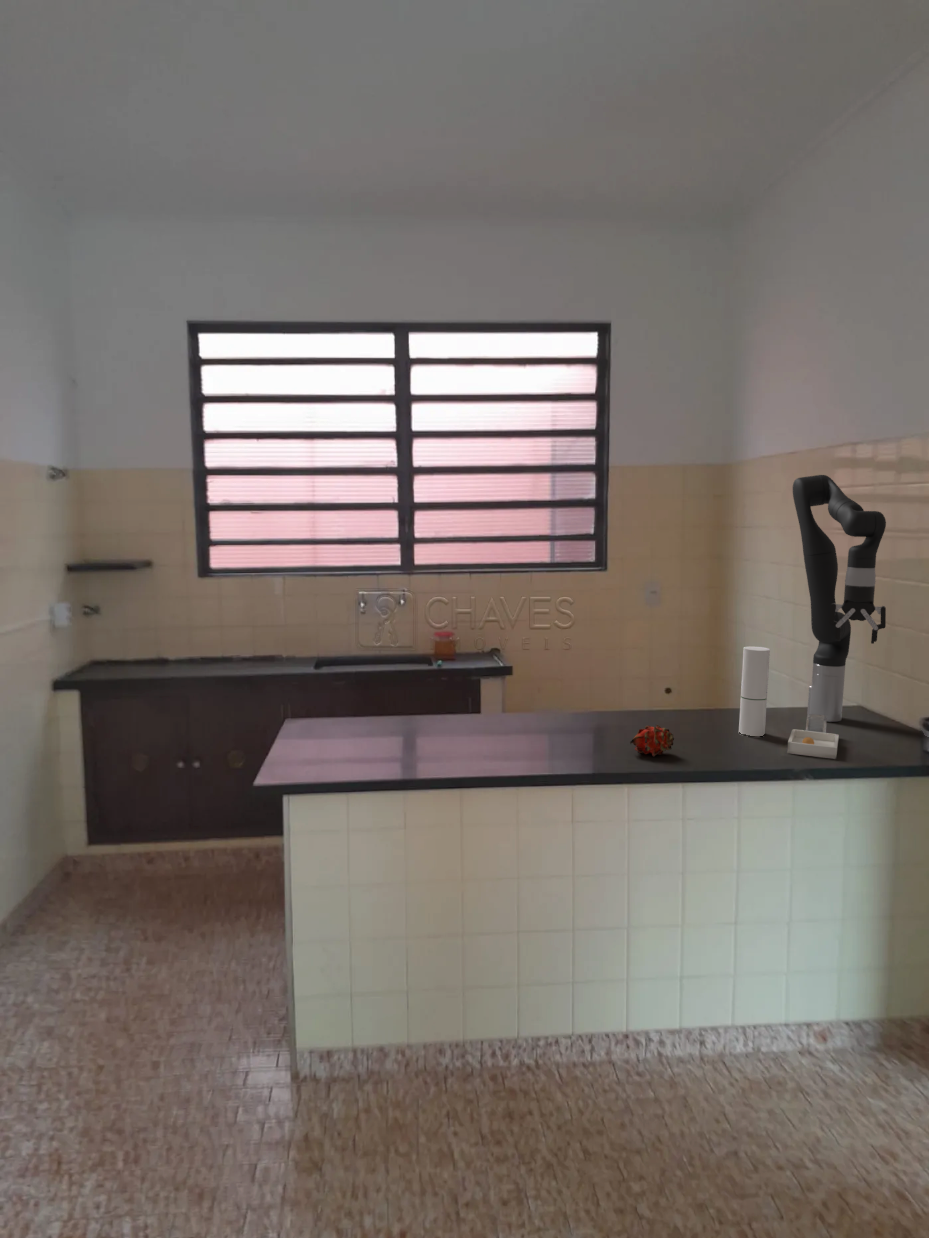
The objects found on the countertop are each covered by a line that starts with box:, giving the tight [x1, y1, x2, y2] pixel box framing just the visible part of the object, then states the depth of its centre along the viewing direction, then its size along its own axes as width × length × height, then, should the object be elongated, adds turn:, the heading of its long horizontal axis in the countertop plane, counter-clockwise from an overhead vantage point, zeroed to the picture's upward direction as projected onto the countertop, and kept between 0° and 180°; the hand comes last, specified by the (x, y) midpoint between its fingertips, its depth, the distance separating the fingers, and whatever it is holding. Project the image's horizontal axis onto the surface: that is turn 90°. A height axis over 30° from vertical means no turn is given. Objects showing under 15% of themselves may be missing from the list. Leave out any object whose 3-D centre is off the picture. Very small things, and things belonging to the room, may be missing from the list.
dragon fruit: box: [629, 724, 675, 757], centre depth 227 cm, size 8×8×12 cm
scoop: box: [805, 714, 828, 733], centre depth 246 cm, size 8×5×6 cm, turn 155°
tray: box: [786, 728, 840, 760], centre depth 234 cm, size 15×12×3 cm
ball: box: [802, 737, 814, 744], centre depth 231 cm, size 3×3×3 cm
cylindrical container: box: [738, 645, 771, 737], centre depth 248 cm, size 7×7×25 cm
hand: (855, 642), depth 240 cm, fingers open, 8 cm apart
